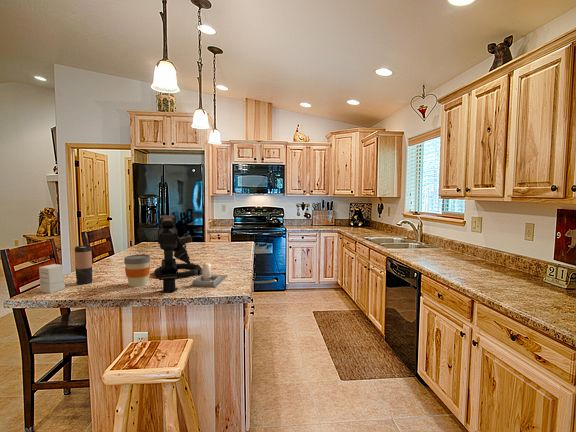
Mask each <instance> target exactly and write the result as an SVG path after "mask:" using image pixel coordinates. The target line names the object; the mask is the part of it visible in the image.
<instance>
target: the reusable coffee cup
mask: <svg viewBox="0 0 576 432" xmlns="http://www.w3.org/2000/svg"><path fill="white" fill-rule="evenodd" d="M150 256H151V255H149V254H132V255H131V254H130V255H126V256H125V257H124V259H123V260H124V261H123V264H124V265H125V268H124V271H125V276H126V278H127V281H128V282H127V283H128V286H129V287H133V288H137V287H143V286H146V285H147V284H148V280H149V275H150V269H151V266H150V262H151V257H150Z"/></svg>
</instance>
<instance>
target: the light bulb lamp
mask: <svg viewBox="0 0 576 432" xmlns="http://www.w3.org/2000/svg"><path fill="white" fill-rule="evenodd" d="M211 265H212V264H211V263H210V262H205V263H202V269H203V274H202V275H203V280H201V281H213V280H212V279H211V275H212V266H211Z"/></svg>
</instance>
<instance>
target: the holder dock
mask: <svg viewBox="0 0 576 432" xmlns="http://www.w3.org/2000/svg"><path fill="white" fill-rule="evenodd" d="M227 277H228V275H227V274H211V279H212V280H213V281H201V280H203V274H202V275H198V277H196V278H195V279H193V280H192V283H191V284H190V285H189V287H190V288H191V287H194V288H195V287H196V288H216V287H218V286H219V285H220V284H221V283H222V282H223V281H224V280H225V279H227Z"/></svg>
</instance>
